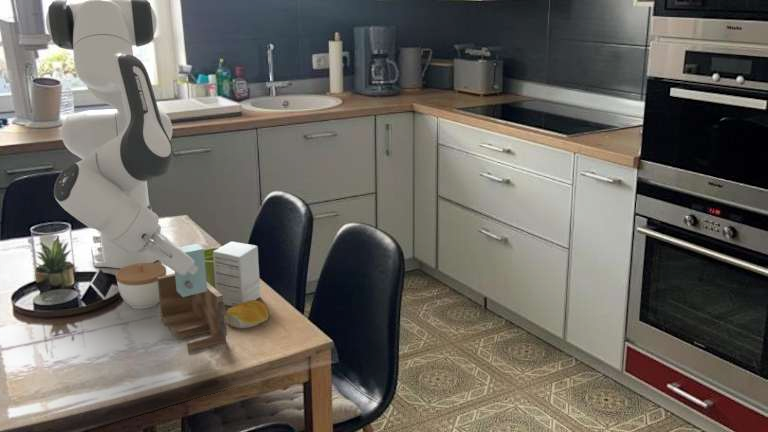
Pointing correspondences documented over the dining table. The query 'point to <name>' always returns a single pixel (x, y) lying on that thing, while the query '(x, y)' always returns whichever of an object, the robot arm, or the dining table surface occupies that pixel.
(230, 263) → the supplement box
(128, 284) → the lidded jar
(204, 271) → the pale teal box
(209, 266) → the plant pot
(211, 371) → the dining table surface
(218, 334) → the carcass
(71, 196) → the robot arm
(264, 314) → the bread roll
